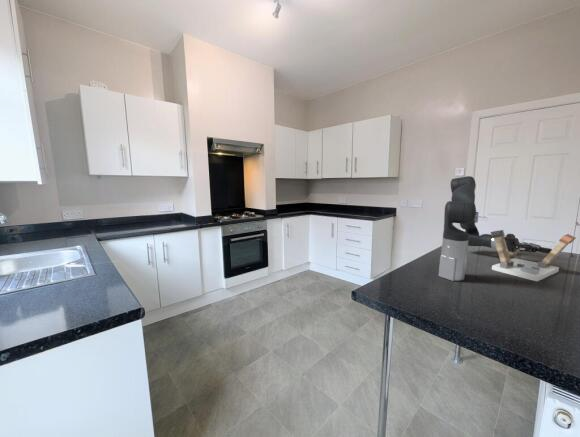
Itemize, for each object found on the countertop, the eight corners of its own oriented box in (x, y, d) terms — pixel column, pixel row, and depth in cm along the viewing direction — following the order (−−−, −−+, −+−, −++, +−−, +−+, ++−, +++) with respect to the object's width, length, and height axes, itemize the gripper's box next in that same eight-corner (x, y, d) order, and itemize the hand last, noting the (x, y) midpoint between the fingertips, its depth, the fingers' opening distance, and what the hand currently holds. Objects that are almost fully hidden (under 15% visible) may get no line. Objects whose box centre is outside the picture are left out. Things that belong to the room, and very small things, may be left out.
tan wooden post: (508, 267, 112) (497, 231, 114) (500, 267, 114) (490, 232, 117) (513, 265, 114) (503, 229, 117) (506, 265, 117) (496, 230, 119)
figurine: (518, 254, 140) (521, 233, 138) (514, 256, 136) (517, 235, 134) (502, 251, 146) (504, 231, 144) (498, 253, 142) (500, 233, 140)
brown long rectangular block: (544, 268, 113) (571, 239, 104) (537, 264, 115) (563, 235, 107) (548, 266, 115) (576, 237, 107) (541, 262, 117) (568, 234, 109)
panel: (537, 281, 102) (538, 272, 102) (491, 269, 116) (492, 261, 116) (558, 271, 114) (559, 262, 113) (514, 261, 128) (515, 253, 127)
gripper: (499, 237, 124) (546, 245, 109) (511, 235, 130) (557, 241, 115) (497, 252, 125) (544, 261, 110) (509, 248, 131) (555, 257, 116)
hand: (551, 251), depth 112 cm, fingers closed
